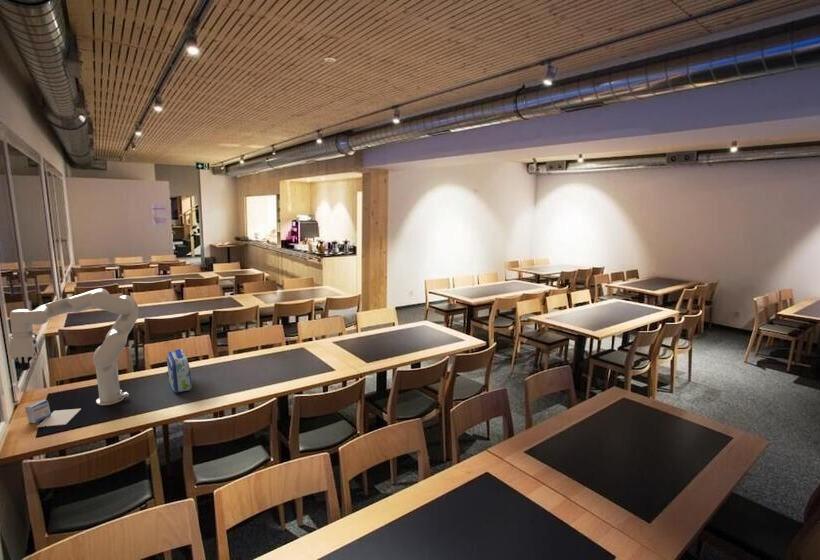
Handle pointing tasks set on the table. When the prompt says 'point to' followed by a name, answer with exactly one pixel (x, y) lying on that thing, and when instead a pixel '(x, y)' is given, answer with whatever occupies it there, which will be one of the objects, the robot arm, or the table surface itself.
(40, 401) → the medicine box
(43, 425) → the mat
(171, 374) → the lunch box
